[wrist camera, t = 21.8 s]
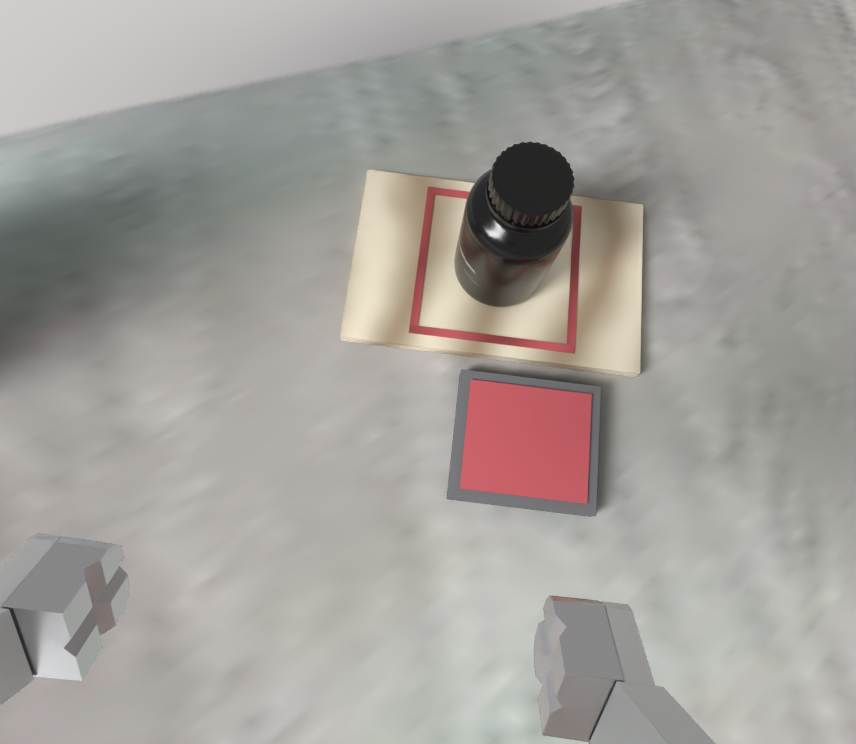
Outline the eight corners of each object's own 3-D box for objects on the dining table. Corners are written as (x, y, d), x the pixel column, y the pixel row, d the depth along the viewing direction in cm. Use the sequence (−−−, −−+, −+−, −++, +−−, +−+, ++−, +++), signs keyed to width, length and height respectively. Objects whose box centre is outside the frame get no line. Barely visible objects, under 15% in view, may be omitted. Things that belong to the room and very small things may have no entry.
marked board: (341, 340, 43) (339, 335, 42) (368, 176, 47) (367, 168, 46) (634, 377, 44) (640, 373, 43) (638, 211, 47) (643, 203, 46)
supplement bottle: (435, 277, 44) (447, 186, 32) (485, 212, 46) (513, 103, 34) (511, 328, 43) (552, 253, 32) (559, 260, 45) (614, 164, 33)
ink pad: (446, 498, 41) (448, 497, 39) (459, 374, 43) (461, 368, 41) (589, 516, 41) (597, 515, 39) (594, 391, 43) (601, 385, 42)
